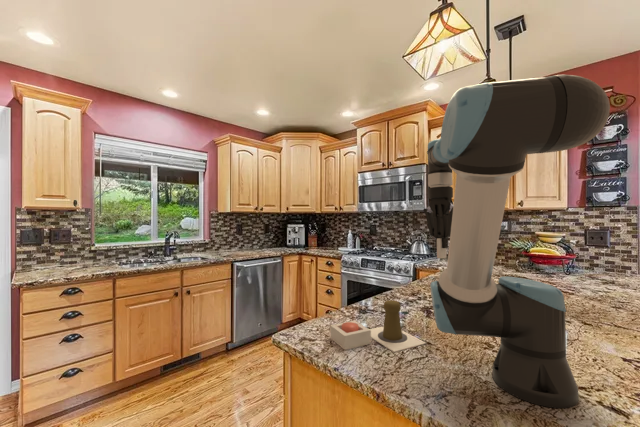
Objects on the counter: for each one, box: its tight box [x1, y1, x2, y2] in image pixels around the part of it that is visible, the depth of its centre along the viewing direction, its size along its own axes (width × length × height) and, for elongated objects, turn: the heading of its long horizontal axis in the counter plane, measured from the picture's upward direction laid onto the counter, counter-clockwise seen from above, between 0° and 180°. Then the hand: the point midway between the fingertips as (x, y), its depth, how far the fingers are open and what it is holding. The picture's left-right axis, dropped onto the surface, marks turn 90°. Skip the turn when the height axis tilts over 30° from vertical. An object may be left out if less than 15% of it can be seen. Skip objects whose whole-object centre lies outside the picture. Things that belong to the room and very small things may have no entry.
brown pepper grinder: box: [383, 299, 403, 340], centre depth 89 cm, size 6×6×11 cm
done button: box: [342, 321, 358, 333], centre depth 87 cm, size 5×5×3 cm
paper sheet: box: [368, 325, 427, 353], centre depth 89 cm, size 16×12×1 cm
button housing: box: [329, 320, 372, 351], centre depth 87 cm, size 9×9×4 cm
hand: (441, 257), depth 94 cm, fingers closed
